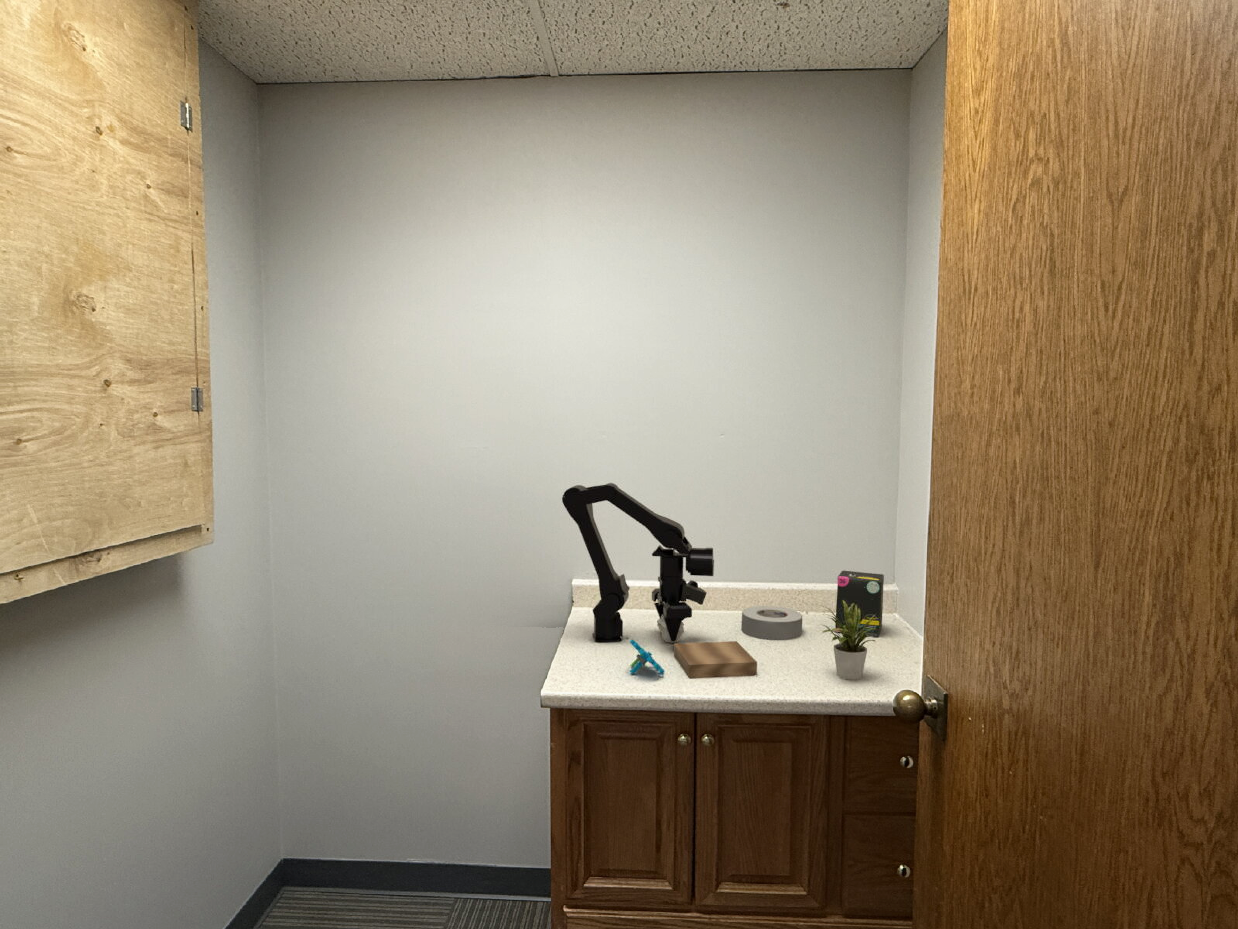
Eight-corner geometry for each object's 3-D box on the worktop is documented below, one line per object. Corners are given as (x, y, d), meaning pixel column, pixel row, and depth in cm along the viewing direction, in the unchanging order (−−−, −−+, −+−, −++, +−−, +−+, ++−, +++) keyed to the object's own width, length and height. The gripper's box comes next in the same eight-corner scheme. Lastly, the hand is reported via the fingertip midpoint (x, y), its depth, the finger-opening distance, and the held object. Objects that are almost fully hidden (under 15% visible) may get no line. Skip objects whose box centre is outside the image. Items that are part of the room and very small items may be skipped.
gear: (670, 673, 169) (636, 640, 169) (650, 694, 168) (617, 661, 168) (662, 663, 180) (631, 632, 180) (644, 683, 179) (612, 652, 179)
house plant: (804, 663, 181) (806, 592, 180) (864, 663, 182) (866, 592, 181) (823, 686, 167) (826, 609, 166) (888, 685, 168) (891, 608, 167)
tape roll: (810, 630, 209) (810, 611, 208) (789, 645, 196) (789, 624, 196) (755, 621, 217) (755, 602, 217) (731, 634, 204) (732, 615, 204)
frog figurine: (652, 640, 198) (653, 612, 198) (679, 637, 200) (679, 610, 200) (661, 647, 192) (661, 618, 192) (688, 644, 194) (688, 616, 194)
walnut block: (689, 681, 171) (689, 665, 171) (673, 658, 186) (674, 643, 185) (756, 677, 173) (757, 662, 173) (736, 655, 188) (736, 641, 188)
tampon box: (834, 632, 206) (836, 576, 205) (839, 623, 214) (841, 569, 213) (879, 638, 202) (881, 581, 201) (882, 628, 210) (884, 573, 209)
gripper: (713, 582, 187) (712, 647, 188) (694, 565, 205) (693, 625, 207) (667, 583, 185) (666, 649, 187) (651, 566, 204) (650, 626, 205)
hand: (670, 637), depth 196 cm, fingers closed on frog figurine, 6 cm apart
